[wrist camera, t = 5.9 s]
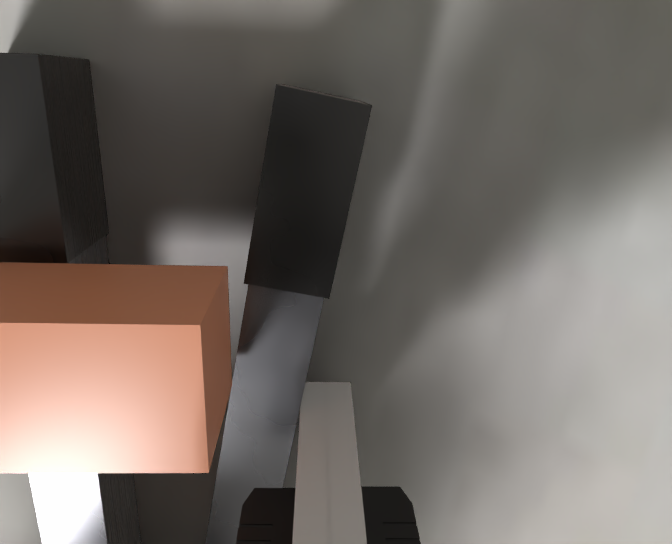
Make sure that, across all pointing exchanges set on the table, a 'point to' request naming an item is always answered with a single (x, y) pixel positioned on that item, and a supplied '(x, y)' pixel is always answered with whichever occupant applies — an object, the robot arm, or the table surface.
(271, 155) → the grey long bar
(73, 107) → the tongs fixed arm
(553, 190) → the table surface
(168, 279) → the orange rectangular block
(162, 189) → the table surface
